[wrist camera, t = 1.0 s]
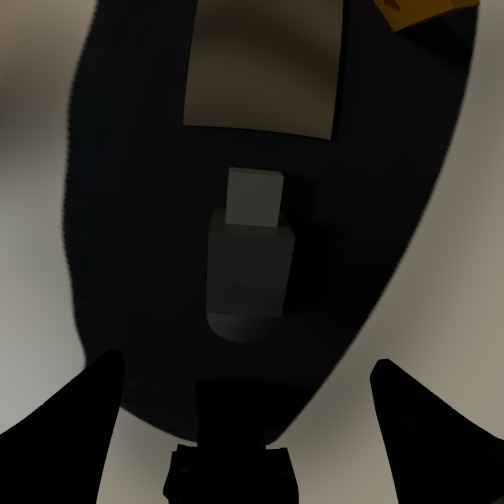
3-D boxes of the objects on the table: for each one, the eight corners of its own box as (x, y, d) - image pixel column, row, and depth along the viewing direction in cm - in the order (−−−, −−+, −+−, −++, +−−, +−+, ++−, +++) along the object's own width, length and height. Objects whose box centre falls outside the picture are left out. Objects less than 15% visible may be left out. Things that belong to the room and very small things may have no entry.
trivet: (327, 139, 15) (330, 139, 15) (185, 125, 15) (183, 125, 14) (340, -8, 11) (343, -11, 10) (205, -25, 10) (204, -30, 10)
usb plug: (269, 304, 20) (275, 344, 16) (210, 301, 20) (206, 340, 16) (288, 169, 16) (304, 184, 12) (217, 163, 16) (212, 175, 12)
